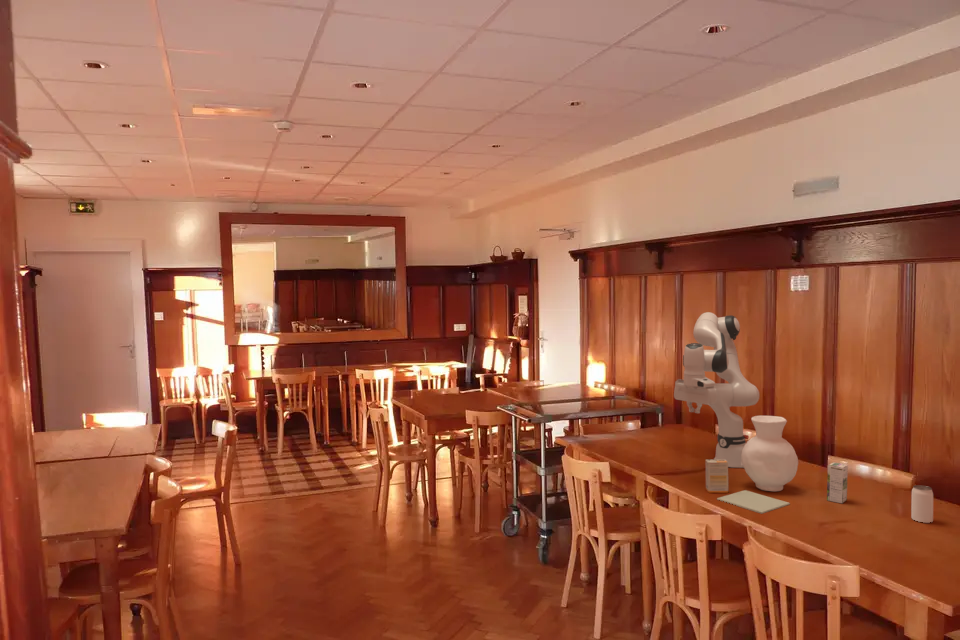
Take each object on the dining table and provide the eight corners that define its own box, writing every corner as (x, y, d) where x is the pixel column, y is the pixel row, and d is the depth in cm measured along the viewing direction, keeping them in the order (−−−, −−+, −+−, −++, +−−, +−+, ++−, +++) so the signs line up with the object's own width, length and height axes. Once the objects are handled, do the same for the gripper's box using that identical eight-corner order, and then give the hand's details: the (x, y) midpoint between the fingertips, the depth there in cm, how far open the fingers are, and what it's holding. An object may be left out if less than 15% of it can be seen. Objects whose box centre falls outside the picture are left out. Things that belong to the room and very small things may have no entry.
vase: (738, 480, 285) (738, 413, 284) (790, 482, 281) (790, 414, 279) (746, 493, 267) (746, 421, 266) (802, 496, 263) (802, 423, 261)
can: (933, 524, 229) (933, 491, 228) (911, 521, 232) (911, 488, 232) (932, 519, 235) (932, 486, 234) (910, 516, 238) (911, 483, 237)
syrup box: (831, 497, 261) (831, 461, 260) (847, 500, 256) (847, 464, 256) (826, 500, 257) (826, 464, 256) (843, 504, 252) (843, 467, 252)
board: (745, 491, 270) (745, 490, 270) (789, 504, 253) (789, 502, 253) (716, 499, 261) (716, 498, 261) (761, 513, 244) (761, 512, 244)
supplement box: (725, 489, 273) (725, 458, 273) (728, 493, 268) (728, 462, 268) (705, 489, 274) (705, 458, 273) (708, 493, 269) (708, 461, 269)
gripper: (670, 379, 288) (670, 409, 289) (708, 384, 271) (708, 416, 272) (680, 377, 292) (680, 408, 292) (718, 382, 274) (718, 415, 275)
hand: (694, 412), depth 282 cm, fingers closed
